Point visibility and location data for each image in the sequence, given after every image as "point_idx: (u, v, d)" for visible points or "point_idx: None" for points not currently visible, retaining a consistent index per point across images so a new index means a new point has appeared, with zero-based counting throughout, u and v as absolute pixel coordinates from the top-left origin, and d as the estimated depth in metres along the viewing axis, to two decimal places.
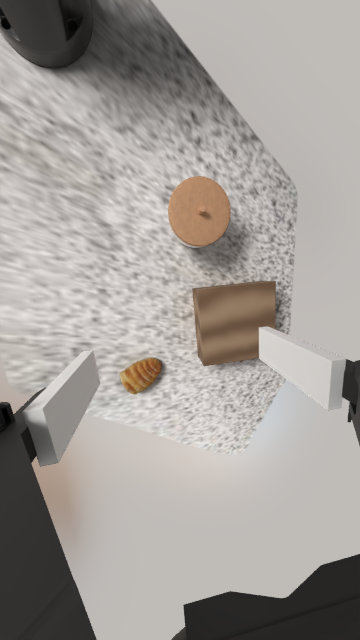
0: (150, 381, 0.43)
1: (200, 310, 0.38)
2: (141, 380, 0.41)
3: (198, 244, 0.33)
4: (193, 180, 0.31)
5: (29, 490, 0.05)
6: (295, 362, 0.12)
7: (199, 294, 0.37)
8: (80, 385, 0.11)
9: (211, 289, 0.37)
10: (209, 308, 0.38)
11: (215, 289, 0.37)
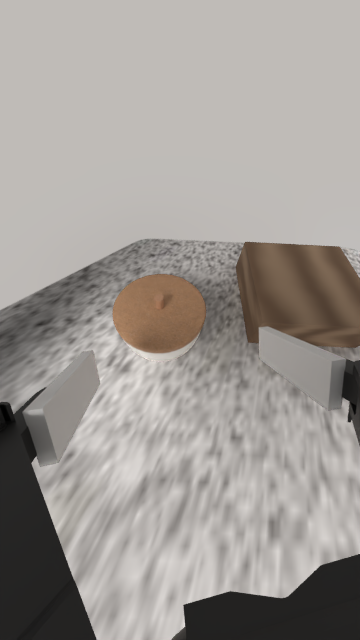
0: None
1: (295, 323, 0.24)
2: None
3: (204, 312, 0.22)
4: (118, 310, 0.21)
5: (29, 490, 0.05)
6: (295, 362, 0.12)
7: (270, 321, 0.24)
8: (80, 385, 0.11)
9: (260, 305, 0.25)
10: (289, 310, 0.25)
11: (260, 300, 0.25)
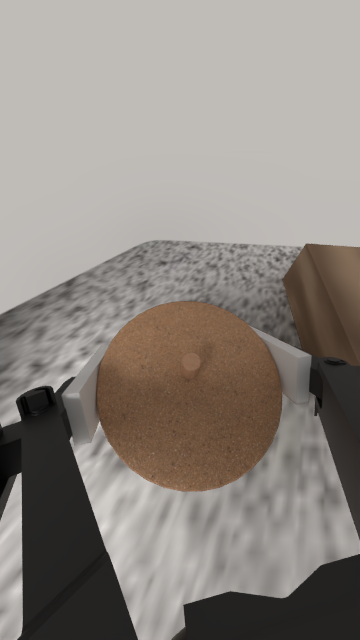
0: None
1: None
2: None
3: (278, 385, 0.11)
4: (106, 381, 0.11)
5: (69, 466, 0.05)
6: None
7: None
8: None
9: (357, 354, 0.14)
10: None
11: (354, 344, 0.15)
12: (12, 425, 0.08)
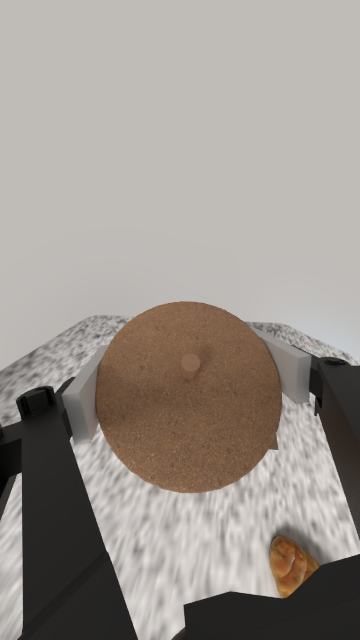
0: None
1: None
2: None
3: (278, 386, 0.11)
4: (106, 382, 0.11)
5: (69, 466, 0.05)
6: None
7: None
8: None
9: None
10: None
11: None
12: (12, 425, 0.08)
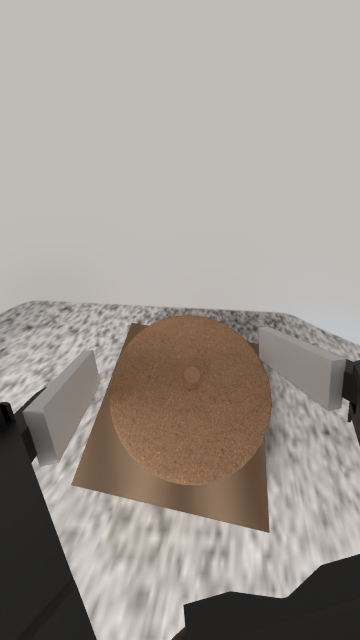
0: None
1: (119, 493, 0.16)
2: None
3: (268, 395, 0.12)
4: (118, 389, 0.12)
5: (29, 490, 0.05)
6: (295, 362, 0.12)
7: (82, 484, 0.16)
8: (80, 385, 0.11)
9: (87, 447, 0.17)
10: (124, 463, 0.17)
11: (92, 437, 0.18)
12: None
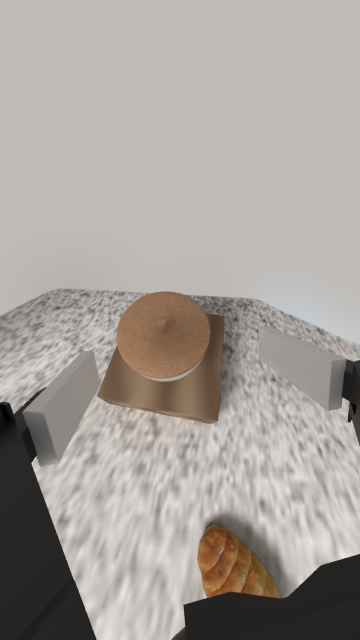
0: (249, 564, 0.20)
1: (127, 401, 0.25)
2: None
3: (207, 341, 0.21)
4: (122, 328, 0.22)
5: (29, 490, 0.05)
6: (295, 362, 0.12)
7: (104, 396, 0.25)
8: (80, 385, 0.11)
9: (106, 377, 0.27)
10: (129, 385, 0.26)
11: (108, 371, 0.27)
12: None
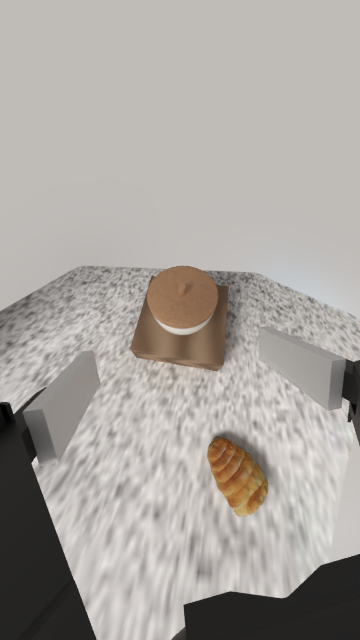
0: (243, 456, 0.29)
1: (153, 352, 0.33)
2: (240, 476, 0.27)
3: (215, 304, 0.28)
4: (151, 291, 0.29)
5: (29, 491, 0.05)
6: (295, 362, 0.12)
7: (135, 348, 0.33)
8: (80, 385, 0.11)
9: (135, 335, 0.34)
10: (154, 341, 0.33)
11: (137, 331, 0.34)
12: None
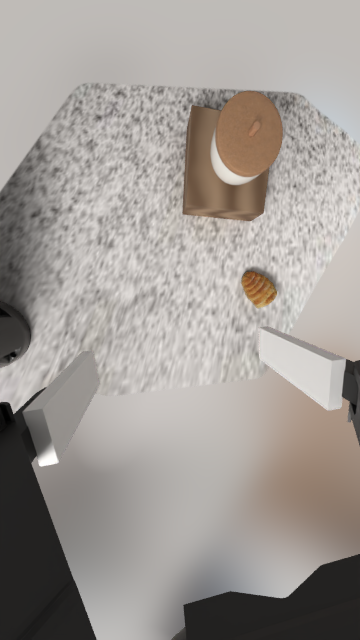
0: (264, 279, 0.45)
1: (207, 206, 0.37)
2: (263, 289, 0.45)
3: (279, 148, 0.30)
4: (221, 129, 0.28)
5: (29, 490, 0.05)
6: (295, 362, 0.12)
7: (191, 204, 0.37)
8: (80, 385, 0.11)
9: (188, 189, 0.36)
10: (206, 194, 0.37)
11: (189, 185, 0.36)
12: None
